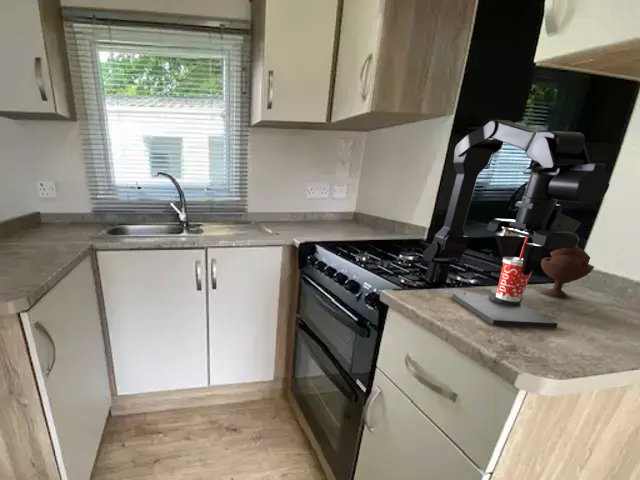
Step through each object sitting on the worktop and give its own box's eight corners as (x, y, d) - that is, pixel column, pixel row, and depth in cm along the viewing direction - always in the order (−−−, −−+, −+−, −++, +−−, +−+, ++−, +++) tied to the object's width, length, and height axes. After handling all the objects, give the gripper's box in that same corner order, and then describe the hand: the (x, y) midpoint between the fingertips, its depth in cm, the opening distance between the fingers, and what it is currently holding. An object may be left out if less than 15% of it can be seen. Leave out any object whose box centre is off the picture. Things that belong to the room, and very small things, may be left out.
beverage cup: (485, 293, 84) (503, 234, 79) (511, 294, 84) (530, 235, 79) (503, 302, 78) (523, 239, 73) (531, 303, 78) (553, 240, 73)
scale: (451, 297, 94) (454, 287, 93) (507, 300, 94) (510, 289, 93) (492, 325, 78) (496, 312, 77) (559, 328, 78) (564, 316, 77)
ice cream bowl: (562, 302, 94) (584, 247, 89) (521, 289, 104) (539, 238, 99) (590, 300, 97) (613, 246, 92) (547, 287, 107) (566, 238, 101)
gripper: (623, 205, 64) (589, 286, 70) (544, 196, 82) (522, 261, 87) (561, 202, 64) (532, 283, 70) (496, 193, 82) (476, 259, 88)
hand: (515, 270), depth 79 cm, fingers closed on beverage cup, 6 cm apart
